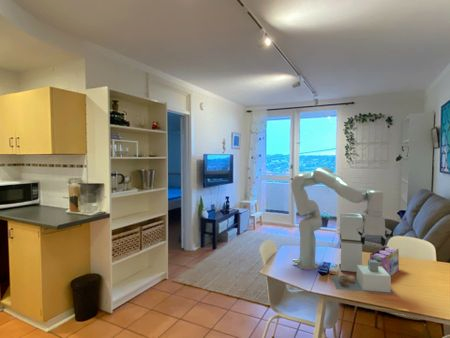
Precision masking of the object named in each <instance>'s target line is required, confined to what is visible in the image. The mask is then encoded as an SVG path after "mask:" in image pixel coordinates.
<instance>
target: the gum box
mask: <svg viewBox="0 0 450 338" xmlns="http://www.w3.org/2000/svg"><path fill="white" fill-rule="evenodd" d="M399 250H400V249H399V248H397V249H395V248H392V247H389V246H387V245H386V246H383V247H382V248H380V249H378V250H376V251H374V252H372V253H370V254H369V260H376V261H377V262H378V266H381V267H383V268H384V269H385V271H386V272H387V273H388V274H389V275H390V276H393V275H394V274H396V273H398V272H399V269H400V268H399V266H400V264H399V263H400V262H399V261H400V260H399V259H400V258H399V257H400V256H399V255H400V254H399Z"/></svg>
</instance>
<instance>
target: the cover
mask: <svg viewBox="0 0 450 338" xmlns="http://www.w3.org/2000/svg"><path fill="white" fill-rule="evenodd" d="M391 276H392V275H391ZM391 276H390V275H389V274H388V273H387V272H386V271H385V269H384V268H383V267H381V266H378V262H377V261H376V260H370V259H367V265H366V264H362V265H357V274H356V277H355V278H356V279H357V281H358V283H359V284H360V286H361V287H362V289H363V290H368V291H379V292H390V289H391V287H392V286H391V284H392V281H391V280H392V277H391ZM391 290H392V289H391Z"/></svg>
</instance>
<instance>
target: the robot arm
mask: <svg viewBox="0 0 450 338" xmlns="http://www.w3.org/2000/svg"><path fill="white" fill-rule="evenodd" d="M290 183H291V184H290V187H291V190H292V194H293V197H294V202H295V206H296V210H297V213H298V214H299V215H300V216H303V217H304V218H303V219H301V220H300V221H299V223H298V230H299V258H292V263H294V264H297V267H298V268H299V269H301V270H315V269H318V267H319V266H318V264H317V263H316V243H317V242H316V235H315V232H316V231H319V230H320V229H321V228H322V227H323V220H322V216H321V212H320V208H319V205H318V204H317V201H315V200H313V199H309V196H308V193H307V190H306V189H305V187H312V186H315V185H319V184H322V185H324V186H325V187H328V188H330V189H332V190H333V191H334V192H335V193H336V194H337V195H339V196H340V197H342V198H343V199H345V200H347V201H349V202H350V203H354V204H360V203H363V202H364V203H365V202H366V210H363V214H364V217H363V225H362V226H360V227H357V228H356V230H357V232H358V233H359V235H360V236H361V242H362V246H363V245H365V244H366V243H365V242H366V241H365V240H366V238H365V236H367V235H368V236H381V237H380V246H382V247H385V245H386V240H387V238H388V237H390V235H391V234H392V230H391V229H389V228H387V227H386V219H385V216H383V212H384V211H383V210H384V209H383V208H384V197H385V196H384V195H385V193H384V192H383V190H377V189H368V188H364V187H359V188H354V187H352V186H350V185H348V184H347V183H345V181H344V180H343V177H341V176H340V175H337V174H335V173H333V171H332V169H331V168H329V167H318V168H315V169H314V170H313V171H312V172H305V173H304V172H303V173H298V174H297V175H295V176H294V177H293V179H292V180H291V182H290ZM305 216H307V217H305ZM360 229H363V232H362V233H361V232H360Z"/></svg>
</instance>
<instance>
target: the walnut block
mask: <svg viewBox="0 0 450 338" xmlns="http://www.w3.org/2000/svg"><path fill="white" fill-rule="evenodd" d="M347 276H348V275H339V277H340V278H339V283H340V285H341V286H347V287H349V278H348V277H347Z"/></svg>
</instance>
